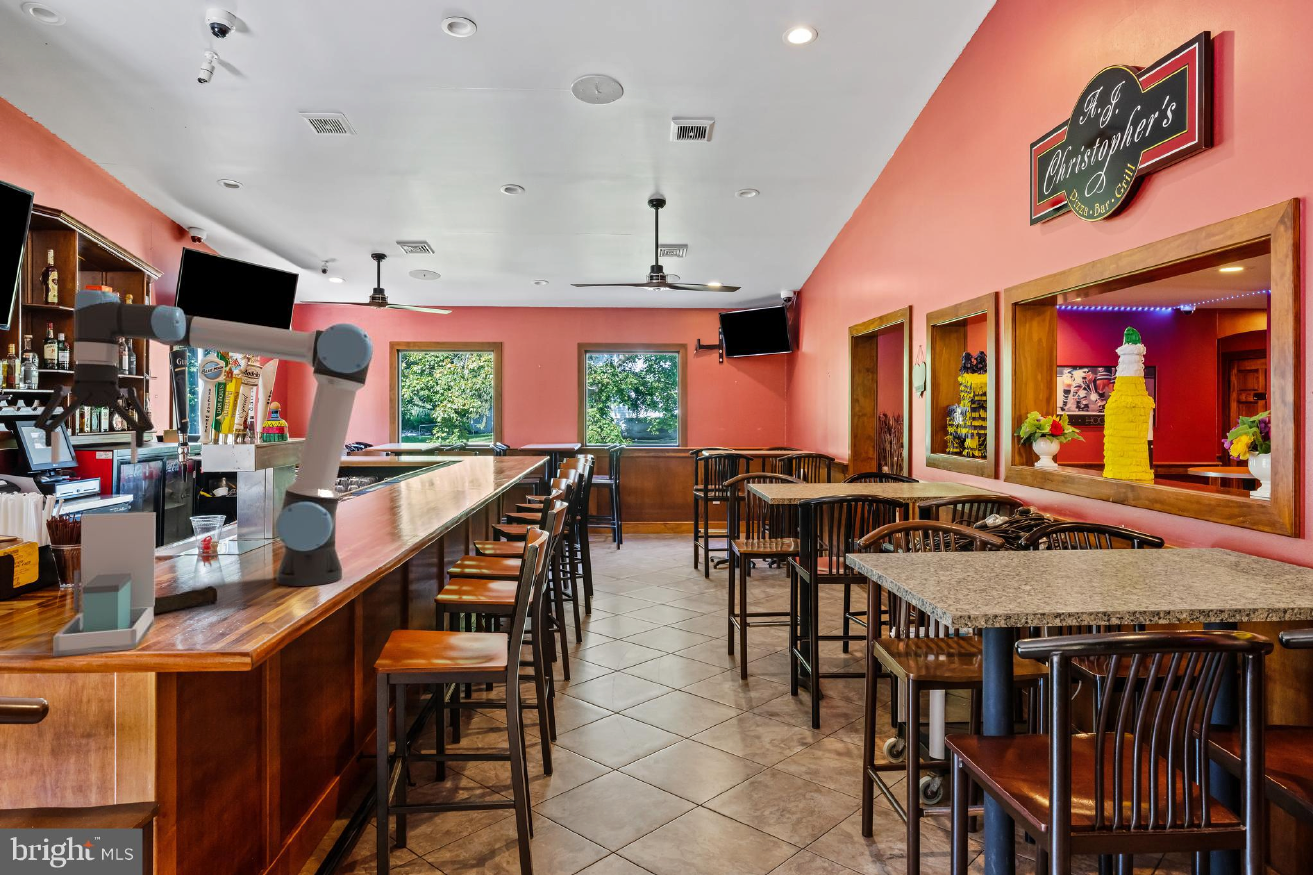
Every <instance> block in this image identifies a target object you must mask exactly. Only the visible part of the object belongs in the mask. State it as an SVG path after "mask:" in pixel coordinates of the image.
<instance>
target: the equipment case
mask: <svg viewBox="0 0 1313 875" xmlns="http://www.w3.org/2000/svg"><path fill="white" fill-rule="evenodd" d="M156 515H157V512H154V511H153V512H125V513H124V512H123V513H119V512H118V513H92V514H91V513H88V514H87V513H84V514H80V517H81V518H80V522H81V523H80V525H81V526H80V535H81V536H80V545H81V546H80V570H74V572H73V614H77V615H75V616H74V617H73V618H72V619H71V620H70V621H69V622H68V623H66V625H64V626H63V627H62V628H60V630H59V631H58V632H56V633H55V634H54V635H53V638H52V639H53V641H52V642H53V643H52V644H53V645H52V646H53V647H52V651H53V652H52V654H53V655H52V657H53V658H54V657H65V656H66V657H67V656H76V655H86V654H96V653H108V652H115V651H116V652H117V651H126V650H127V651H129V650H137V648H138V647H139V645H140V644H141V642H142V641H143V640H144V638H145V637H146V635H147V634H148V633H149V631H150V629H151V628H152V627H153V625H154V624H155V620H154V616H155V614H154V605H155V598H156V528H157V527H156V517H157V516H156ZM127 573H131V580H130V625H129V627H128V628H127V629H121V630H110V631H98V632H87V633H83V587H84V586H85V585H86V584H87V583H89V582H90V581H91V580H92V579H93V578H95V577H96V576H97V575H109V574H127Z"/></svg>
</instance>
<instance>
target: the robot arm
mask: <svg viewBox="0 0 1313 875" xmlns="http://www.w3.org/2000/svg"><path fill="white" fill-rule="evenodd" d="M73 323H74V324H73V325H74V326H73V329H74V331H73V333H74V334H73V335H74V336H73V337H74V338H73V340H74V341H73V361H75V362H77V363H75V364H74V365H73V385H72V386H66V385H65V386H64V385H63V384H55V386H54V387H53V394H52V395H51V398H50V399H49V400H48V401H47V403H46V405H45V407H44V408H43V410H42V411H41V413H40V414H39V416H38V417H37V418H36V420H35V422H34V423H33V427H34V428H35V429H38V430H42V431H44V434H45V438H44V439H45V442H44V444H45V447H47V448H49V447H50V449H51V450H50V454H51V458H50V461H51V462H50V463H51V464H58V463H61V462H60V460H61V447H60V446H61V431H56V430H57V429H58V428H59V427H60V426H61V425H63V423H65V422H66V420H68V419H69V418H70V417H71V416H72V415H74V413H76V411H78V410H79V409H80V408H81V407H83V406H84V407H86V408H94V407H97V408H107V407H108V408H109V407H110V408H111V410H114V412H115V413H116V414H117V415H118V416H119V417H121V418H122V420H123V421H125V422H126V424H127V425H129V427H131V428H132V430H134V431H135V432H131V433H130V464H136V463H138V462H139V460H138V457H139V456H138V455H139V454H138V453H139V451H138V450H139V448H143V447H144V443H145V442H144V440H145V439H144V438H145V436H144V435H145V433H146V432H148V431H152V430H154V428H155V426H154V424H153V423H152V420H151V419H150V417H149V415H148V414H147V412H146V411H145V409H144V407H143V405H142V404H141V402H140V400H139V398H138V393H137V389H136V388H135V387H127V388H120V386H119V367H118V366H117V365H116V364H118V363H119V339H120V338H125V339H141V340H151V341H153V342H157V343H160V344H161V345H164V346H170V347H184V348H193V349H201V350H209V351H217V352H223V353H232V354H239V355H246V356H247V355H248V356H254V357H261V358H270V359H276V360H277V359H278V360H283V361H291V362H292V361H293V362H298V363H299V362H300V363H307V364H308V365H309V367H311V368H312V369H313V372H312V377H314V379H315V380H316V382H317V385H316V391H315V395H314V399H313V403H312V407H311V412H310V417H309V420H308V423H307V424H308V426H307V430H306V434H305V437H304V438H305V439H304V442H303V447H302V451H301V456H300V460H299V464H298V469H297V473H296V478H295V482H293V483H291V484H290V485H289V486H287V487H286V489H285V492H284V497H283V502H282V504H281V510H280V513H279V514H278V516H277V518H276V522H275V529H276V531H275V532H276V534H277V537H278V538H279V541H280V542H281V543H282V544H283V545H284V552H283V554H282V558H281V561H279V566H278V568H277V571H276V578H275V580H276V583H277V584H278V585H282V586H289V587H309V586H319V585H326V584H331V583H334V582H335V583H336V582H338V581H339V580H341V579H342V578H343V568H342V565H341V564H342V563H341V562H340V558H339V556H338V552H337V550H336V531H337V530H336V528H337V526H336V525H337V524H336V521H337V520H336V519H337V517H336V516H337V515H336V514H337V510H338V506H339V501H340V495H339V493H338V491H337V490H336V489H335V487H336V482H337V479H338V474H339V470H340V465H341V461H342V457H343V452H344V447H345V444H346V439H347V436H348V435H347V434H348V430H349V425H350V421H351V417H352V412H353V408H354V405H355V404H354V403H355V398H356V394H357V392H358V391H359V390H360V389H362V388H364V387H365V385H366V381H367V377H368V372H369V368H370V363H371V361H372V358H373V352H374V347H373V342H372V340H371V338H370V336H369V334H368V333H367V332H366V331H365V330H363V329H362V328H360V327H359V326H357V325H354V324H351V323H337V324H333V325H331V326H329V327H327V328H326V329H324V330H320V329H319V330H318V329H315V330H313V331H311V332H305V331H301V330H300V331H299V330H292V329H284V328H278V327H271V326H270V327H269V326H263V325H258V324H249V323H244V322H237V321H230V320H221V319H215V318H210V317H209V318H208V317H201V316H194V315H189V314H188V315H187V314H185V313H184V310H183V309H182V308H180V307H178V306H169V305H166V304H161V305H158V304H157V305H155V304H144V303H143V304H142V303H127V302H125V303H124V302H122V301H121V300H120V297H119V295H118V294H117V293H114V292H110V291H104V290H103V291H101V290H97V289H96V290H95V289H94V290H93V289H92V290H91V289H81V290H79V291H77V292H76V293H75V297H74V309H73ZM69 393H71V394H72V396H73V397H75V399H74V400H72V402H71V403H69V405H68V406H67V407H66V408H65V409H63V411H61V412H60V413H59V414H58V415H57V416H55V418H54V419H52V420H51V421H50V422H49V420H50V419H51V417H52V415H53V414H54V412H55V411H56V410H57V408H58V406H59V405H60V403H61V402H62V400H63V398H64V397H67V396H68V394H69ZM120 395H123V396H124V397H125V398H126V399H128V401H129V403H130V405H131V406H132V408H133V409H134V410H133V411H134V412H135V413H136V415H137V416H138V418H139V420H140V421H141V423H142V425H141V424H140V423H139V422H138V421H137V420H136V419H135V418H134V417H133V416H132V415H131V414H130V413H129V412H128V411H127V410H126V409H125V408H124V407H123V406H122V405H121V404H120V403H119V401H117V399H118V398H119V397H120ZM48 422H49V423H48ZM47 423H48V424H47Z"/></svg>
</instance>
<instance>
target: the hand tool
mask: <svg viewBox="0 0 1313 875" xmlns="http://www.w3.org/2000/svg"><path fill="white" fill-rule="evenodd" d="M217 602H218V591H217V588H216V587H214V586H213V585H208V586H206V587H204V588H201V589H193V590H188V591H183V592H180V593H175V594H170V595H165V596H159V597H156V596H155V605H154V615H157V614H161V613H166V612H170V611H176V610H180V609H186V608H191V607H197V606H204V605H207V604H213V605H216V604H217Z"/></svg>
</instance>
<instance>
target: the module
mask: <svg viewBox="0 0 1313 875" xmlns="http://www.w3.org/2000/svg"><path fill="white" fill-rule="evenodd" d="M130 580H131V573H127V574H109V575H97V576H96V577H95V578H93V579H92V580H91V581H90V582H89V583H87V584H86V585H85V586H84V587H83V633H87V632H98V631H110V630H121V629H127V628H128V627H129V625H130Z"/></svg>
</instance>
